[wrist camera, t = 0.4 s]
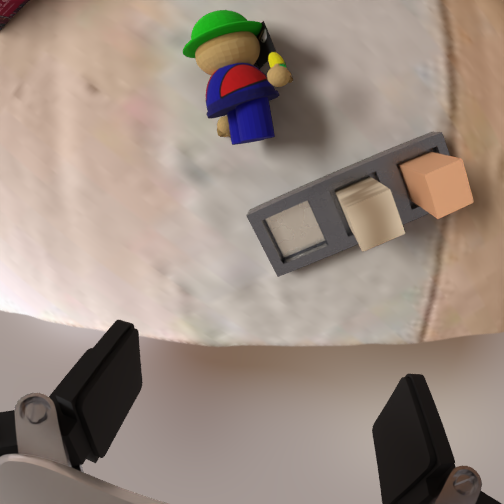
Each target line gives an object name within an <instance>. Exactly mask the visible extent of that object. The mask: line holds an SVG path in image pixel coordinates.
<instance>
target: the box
mask: <svg viewBox="0 0 504 504" xmlns="http://www.w3.org/2000/svg"><path fill="white" fill-rule="evenodd" d="M29 1H30V0H0V30H1V29H2V28H3V27H4V26H5V25H6V24H7V23H8V21H9V20H10V19H11V18H12V17H13V16H14V15H15V14H16V13H17V12H18V11H19V10H20V9H21V8H22V7H23V6H24V5H25V4H26V3H28V2H29Z"/></svg>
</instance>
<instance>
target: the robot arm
mask: <svg viewBox="0 0 504 504" xmlns="http://www.w3.org/2000/svg"><path fill="white" fill-rule="evenodd" d="M141 387H142V374H141V363H140V350H139V334H138V330H137V329H135V328H134V325H133V324H132V323H129V322H125V321H122V320H117V321H115V323H114V324H113V325H112V326H111V327H110V328H109V330H108V331H107V332H106V333H105V334H104V336H103V337H102V338H101V339H100V340H99V341H98V343H97V344H96V345H95V346H94V347H93V348H90V349H88V350H87V351H86V352H85V353H84V355H83V356H82V357H81V358H80V359H79V361H78V362H77V363H76V364H75V365H74V367H73V368H72V369H71V370H70V372H69V373H68V374H67V375H66V376H65V378H64V379H63V380H62V381H61V383H60V384H59V385H58V386H57V388H56V389H55V390H54V391H53V392H52V394H51V395H50V396H49V397H48V396H46V395H44V394H41V393H31V394H27V395H25V396H23V397H22V398H21V399H20V400H19V401H18V402H17V404H16V406H15V410H13V411H6V412H0V504H168V503H165V502H161V501H158V500H155V499H152V498H149V497H146V496H143V495H140V494H137V493H134V492H131V491H129V490H126V489H123V488H120V487H118V486H115V485H112V484H110V483H107V482H105V481H103V480H100V479H98V478H95V477H93V476H90V475H88V474H86V473H84V472H83V469H82V466H81V464H83V463H84V461H85V460H86V459H88V460H90V461H92V462H94V463H96V462H97V460H98V458H99V457H100V458H103V457H104V456H105V454H106V453H107V451H108V449H109V447H110V445H111V443H112V441H113V440H114V438H115V436H116V434H117V432H118V430H119V429H120V427H121V425H122V423H123V421H124V419H125V417H126V416H127V414H128V412H129V410H130V408H131V407H132V405H133V403H134V401H135V399H136V397H137V396H138V394H139V392H140V390H141ZM372 433H373V439H374V445H375V451H376V458H377V465H378V473H379V480H380V488H381V496H382V503H383V504H501V503H500V502H498V501H496V500H495V499H493V498H492V497H490V496H488V495H486V494H485V493H484V492H482V491H481V487H482V482H481V478H480V476H479V474H478V473H477V472H476V471H475V470H474V469H473V468H471V467H468V466H459V467H455V464H454V463H455V460H454V457H453V454H452V451H451V448H450V445H449V442H448V439H447V436H446V433H445V430H444V427H443V424H442V422H441V419H440V416H439V413H438V411H437V408H436V405H435V403H434V400H433V398H432V395H431V393H430V390H429V387H428V385H427V383H426V380H425V378H424V376H423V375H420V374H407V375H406V376H405V377H403V378H401V380H400V381H399V383H398V385H397V387H396V389H395V390H394V392H393V394H392V395H391V397H390V399H389V400H388V402H387V404H386V405H385V407H384V409H383V410H382V412H381V413H380V415H379V417H378V418H377V420H376V421H375V423H374V425H373V429H372Z"/></svg>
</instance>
